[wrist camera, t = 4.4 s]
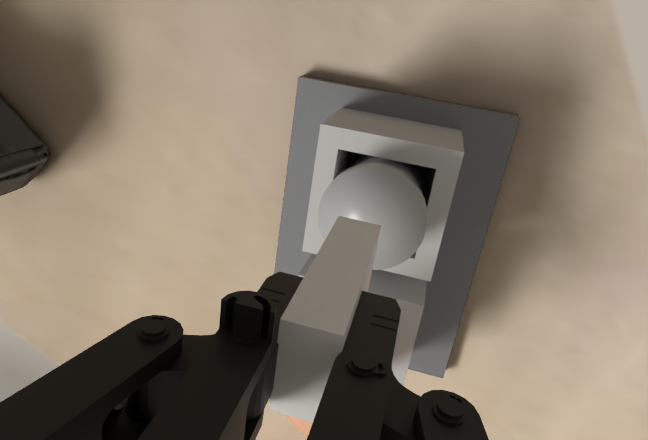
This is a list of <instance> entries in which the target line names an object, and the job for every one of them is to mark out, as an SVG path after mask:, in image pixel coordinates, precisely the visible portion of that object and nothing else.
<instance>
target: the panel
mask: <svg viewBox="0 0 648 440" xmlns="http://www.w3.org/2000/svg"><path fill="white" fill-rule="evenodd" d="M519 120H520V117H519V115H515V114H510V113H504V112H499V111H493V110H488V109H482V108H477V107H471V106H466V105H460V104H455V103H449V102H444V101H438V100H433V99H428V98H422V97H417V96H411V95H406V94H400V93H395V92H389V91H384V90H378V89H373V88H367V87H362V86H356V85H351V84H345V83H340V82H335V81H329V80H324V79H318V78H313V77H307V76H300V77H298V85H297V93H296V101H295V109H294V118H293V126H292V134H291V142H290V150H289V158H288V166H287V174H286V182H285V190H284V198H283V206H282V215H281V223H280V231H279V239H278V247H277V255H276V263H275V271H274V274H276V273H277V272H279V271H280V272H284V273H288V274H292V275H296V276H300V277H304V276H305V274H306V273H307V271H308V269H309V267H310V266H311V264H312V262H313V260H314V259H315V257H316V255H317V253H318V252H319V250H320V248H321V246H322V244H323V243H324V239H323V237H322V235H321V232H320V229H319V223H318V208H319V204H320V201H321V198H322V196H323V194H324V192H325V190H326V189H327V187H328V186H329V185H330V183H331V182H332V181H333V180H334V179H335V178H336V177H337V176H338V175H339V174H340V173H341V172H343V171H344V170H346V169H348V168H350V167H352V166H354V164H355V163H356V162H357V160H358V159H359V158H360V156H361V155H362V154H365V155H370V156H375V157H379V158H384V159H389V160H394V161H399V162H404V163H409V164H414V165H419V166H421V168H422V170H423V174H424V187H423V193H422V194H423V196H424V198H425V202H426V205H427V226H426V232H425V235H424V239H423V241H422V243H421V245H420V246H419V248H418V249H417V251H416V252H415V253H414V254H413V255H412V256H411V257H410V258H409V259H407V260H406V261H404V262H403V263H401V264H399V265H397V266H395V267H392V268H388V269H383V270H372V274H371V279H370V283H369V288H368V292H370V293H374V294H378V295H382V296H386V297H390V298H394V299H396V301H397V303H398V305H399V307H400V309H401V314H400V319H399V325H398V331H397V337H396V342H395V348H394V354H393V359H392V371H393V374H394V376H395V377H396V379H397V380H398V382H400V383H401V384H402V385H403V386H404V382H405V378H406V374H407V370H408V369H410V370H414V371H418V372H421V373H425V374H429V375H433V376H436V377H440V378H443V377H444V373H445V370H446V366H447V363H448V360H449V356H450V353H451V350H452V346H453V343H454V339H455V336H456V333H457V329H458V326H459V323H460V319H461V316H462V312H463V309H464V306H465V302H466V299H467V296H468V292H469V289H470V285H471V282H472V279H473V275H474V272H475V269H476V265H477V262H478V258H479V255H480V252H481V248H482V245H483V242H484V238H485V235H486V231H487V228H488V225H489V221H490V218H491V215H492V211H493V208H494V204H495V201H496V198H497V194H498V191H499V188H500V184H501V181H502V177H503V174H504V171H505V167H506V164H507V161H508V157H509V154H510V151H511V147H512V144H513V140H514V137H515V134H516V130H517V127H518V124H519Z"/></svg>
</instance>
